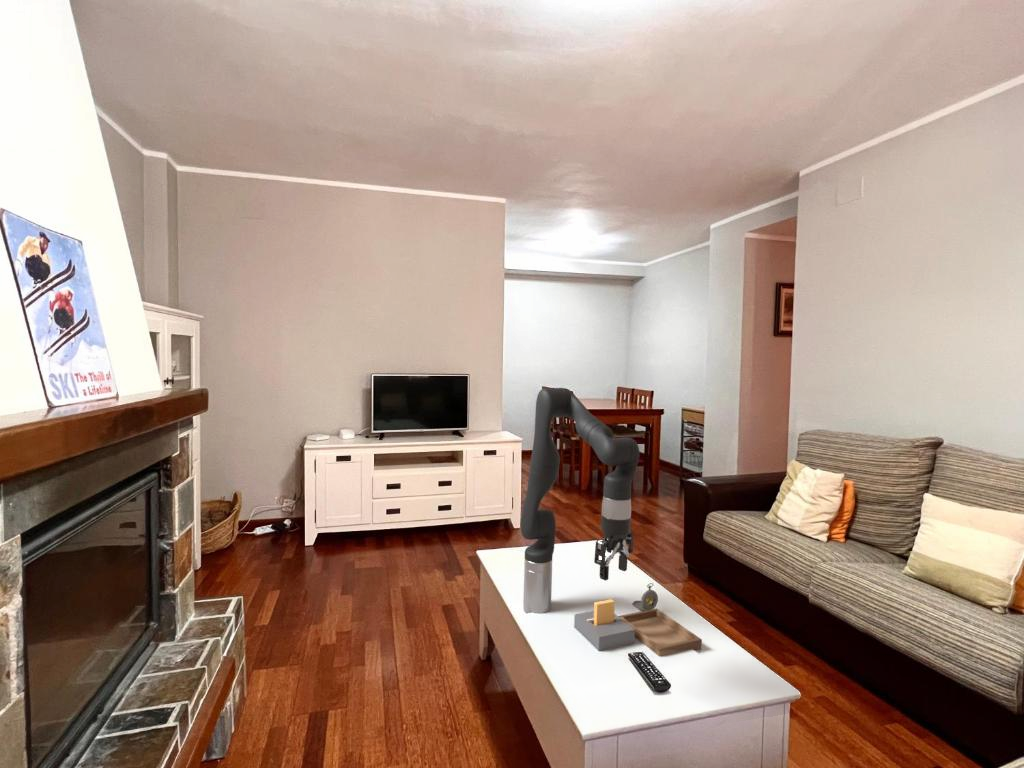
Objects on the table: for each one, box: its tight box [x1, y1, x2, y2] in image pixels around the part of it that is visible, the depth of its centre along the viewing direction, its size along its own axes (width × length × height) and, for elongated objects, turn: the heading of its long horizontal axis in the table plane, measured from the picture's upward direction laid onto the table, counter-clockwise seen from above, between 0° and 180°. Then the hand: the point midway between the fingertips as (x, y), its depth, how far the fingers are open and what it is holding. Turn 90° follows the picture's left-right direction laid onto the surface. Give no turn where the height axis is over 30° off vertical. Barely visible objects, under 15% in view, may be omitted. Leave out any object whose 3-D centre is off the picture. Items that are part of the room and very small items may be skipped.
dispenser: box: [573, 610, 636, 652], centre depth 151 cm, size 14×12×5 cm
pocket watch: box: [631, 583, 659, 612], centre depth 170 cm, size 8×8×10 cm
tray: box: [617, 608, 703, 657], centre depth 153 cm, size 20×15×3 cm
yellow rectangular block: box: [593, 598, 615, 626], centre depth 151 cm, size 2×6×10 cm, turn 112°
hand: (613, 574), depth 133 cm, fingers open, 8 cm apart
